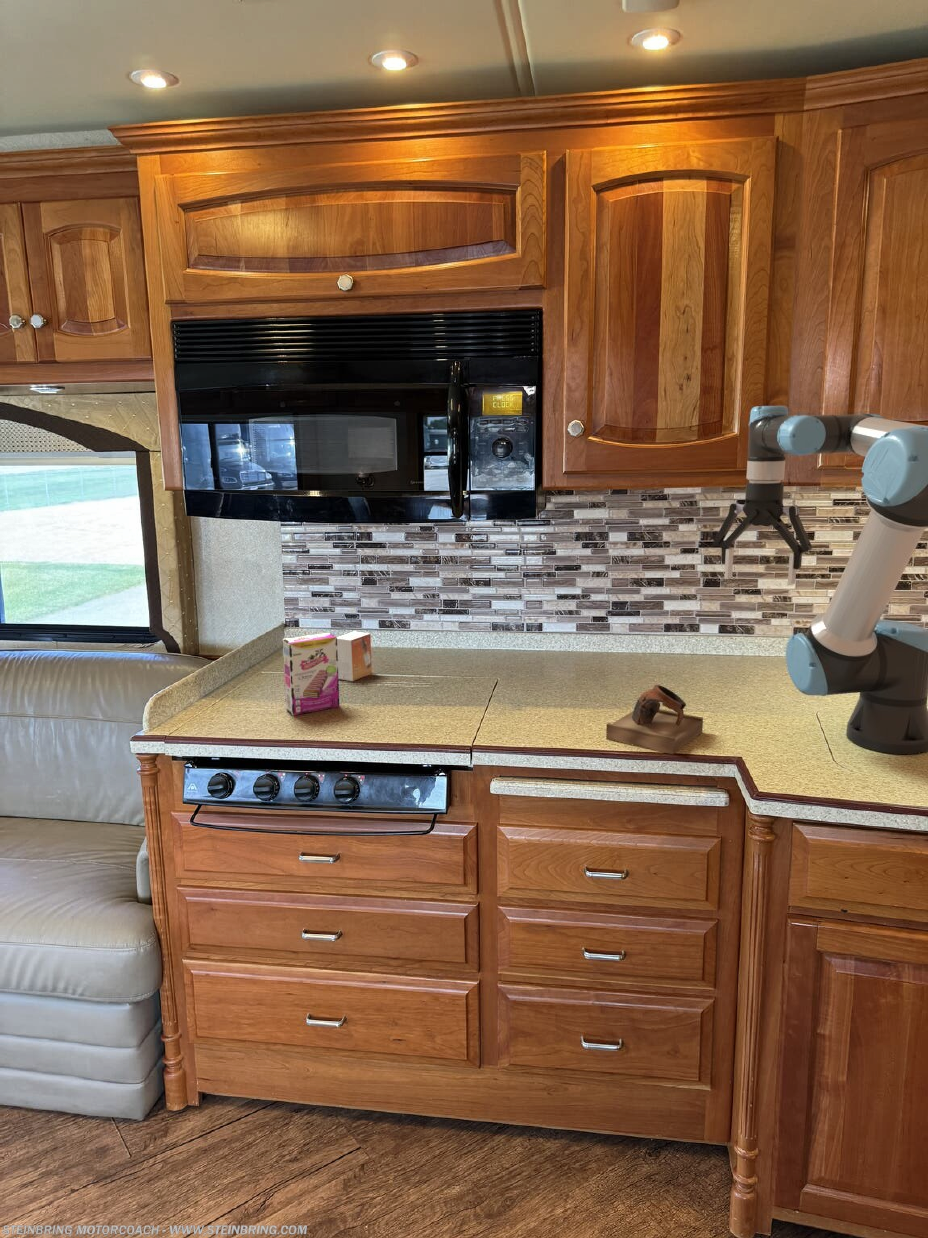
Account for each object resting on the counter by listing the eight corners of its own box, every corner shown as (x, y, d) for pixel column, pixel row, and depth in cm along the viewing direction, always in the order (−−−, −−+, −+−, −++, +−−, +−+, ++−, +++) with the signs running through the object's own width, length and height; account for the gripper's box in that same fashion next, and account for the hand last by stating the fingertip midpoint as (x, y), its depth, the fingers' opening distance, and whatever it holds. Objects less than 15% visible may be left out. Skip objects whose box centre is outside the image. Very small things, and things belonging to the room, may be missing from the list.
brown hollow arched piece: (636, 712, 181) (658, 680, 179) (674, 740, 176) (696, 707, 174) (616, 715, 170) (639, 680, 168) (655, 745, 166) (679, 709, 164)
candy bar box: (293, 716, 189) (288, 643, 185) (285, 710, 193) (280, 638, 189) (341, 707, 194) (337, 635, 191) (332, 701, 198) (328, 631, 195)
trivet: (702, 732, 175) (703, 717, 174) (672, 754, 164) (673, 738, 163) (638, 719, 183) (638, 705, 182) (606, 739, 172) (606, 724, 171)
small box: (352, 682, 212) (350, 640, 210) (335, 679, 215) (332, 637, 213) (372, 673, 219) (371, 633, 217) (355, 670, 222) (353, 630, 220)
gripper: (832, 481, 179) (824, 583, 183) (714, 478, 193) (709, 572, 198) (821, 484, 173) (814, 589, 178) (701, 480, 187) (696, 578, 192)
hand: (759, 581), depth 188 cm, fingers open, 13 cm apart
